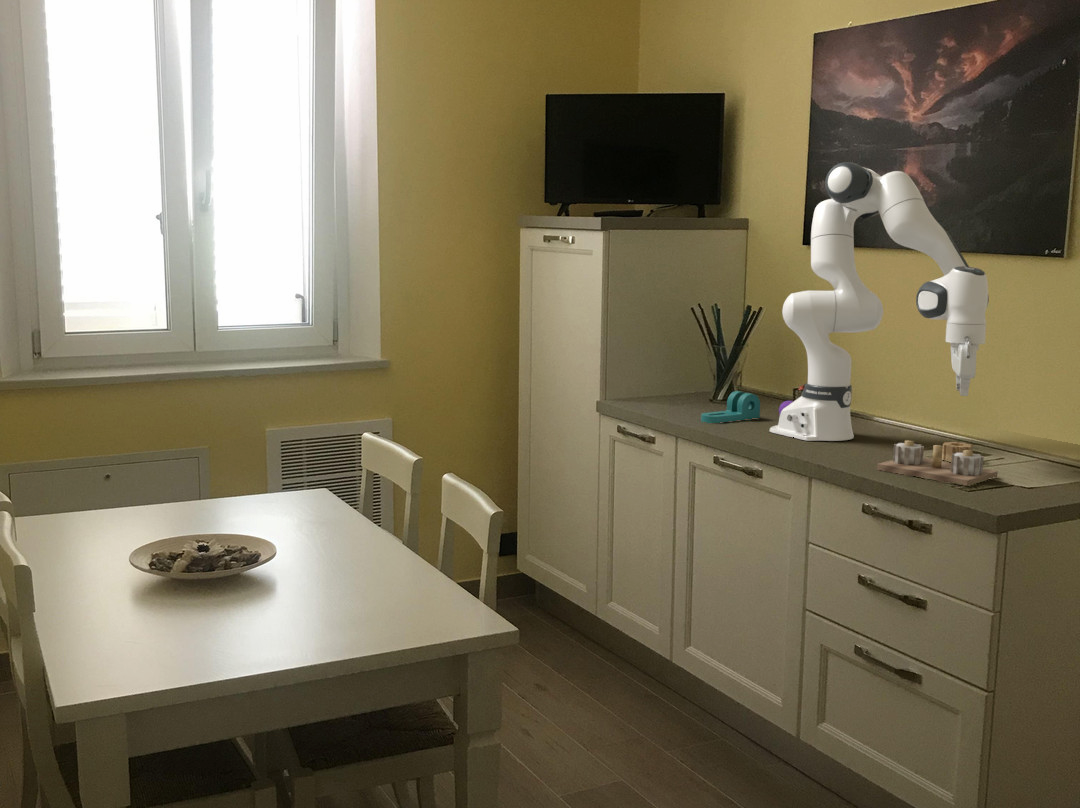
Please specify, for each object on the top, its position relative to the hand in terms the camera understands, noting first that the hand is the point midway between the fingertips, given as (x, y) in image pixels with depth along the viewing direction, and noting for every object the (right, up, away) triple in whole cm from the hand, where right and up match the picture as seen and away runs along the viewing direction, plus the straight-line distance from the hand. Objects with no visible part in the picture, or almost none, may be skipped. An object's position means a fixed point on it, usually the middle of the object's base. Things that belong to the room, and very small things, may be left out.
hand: (961, 393), depth 267 cm
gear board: (-10, -19, -11) cm, 24 cm away
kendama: (-23, -7, +60) cm, 65 cm away
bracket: (-47, -8, +56) cm, 73 cm away
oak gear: (0, -16, +3) cm, 17 cm away
